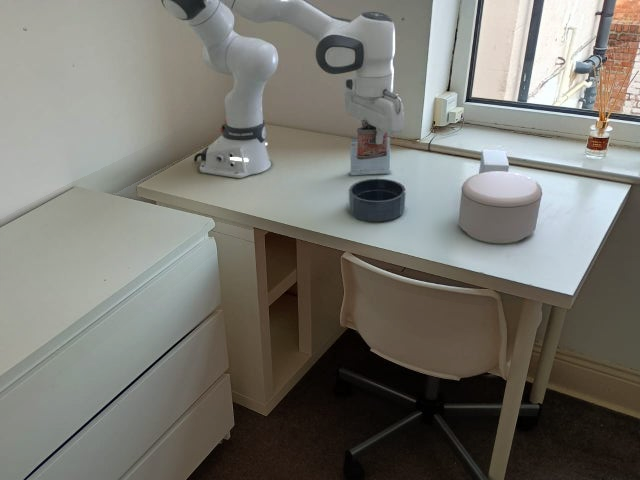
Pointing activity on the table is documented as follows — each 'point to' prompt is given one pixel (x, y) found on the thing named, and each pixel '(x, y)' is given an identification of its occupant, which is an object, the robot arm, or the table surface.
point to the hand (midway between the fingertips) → (372, 140)
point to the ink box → (369, 161)
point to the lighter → (370, 143)
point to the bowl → (377, 199)
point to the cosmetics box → (493, 161)
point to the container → (499, 206)
